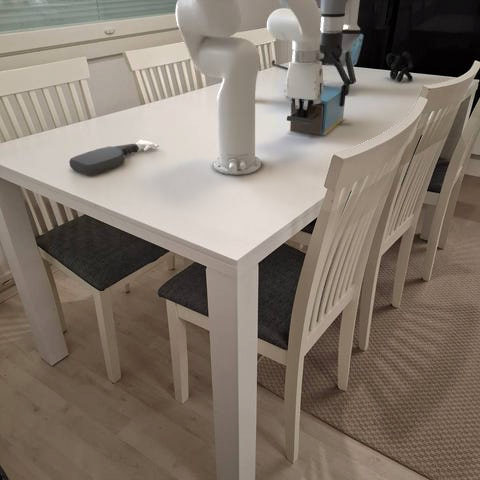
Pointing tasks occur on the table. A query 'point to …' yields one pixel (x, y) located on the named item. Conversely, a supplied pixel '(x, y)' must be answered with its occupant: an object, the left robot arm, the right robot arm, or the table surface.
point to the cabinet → (331, 108)
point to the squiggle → (399, 66)
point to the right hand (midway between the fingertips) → (324, 103)
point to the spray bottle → (106, 157)
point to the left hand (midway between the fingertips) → (302, 121)
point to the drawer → (307, 120)
